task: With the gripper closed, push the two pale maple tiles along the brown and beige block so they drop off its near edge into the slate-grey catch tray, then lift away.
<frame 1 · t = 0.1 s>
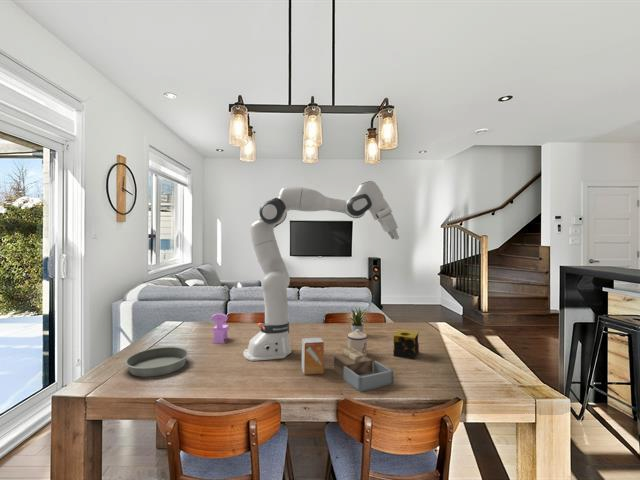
hand: (395, 238, 159), 54 cm above the table, tool tilted 30°, fingers open, 8 cm apart
rear tile: (350, 356, 142), point 5 cm above the table, touching brown and beige block
candle: (406, 355, 160), on the table
brown and beige block: (352, 371, 140), on the table
small box: (312, 371, 140), on the table
toy chair: (220, 341, 180), on the table
front tile: (356, 360, 138), point 5 cm above the table, touching brown and beige block
teacup with lid: (357, 353, 161), on the table
catch tray: (368, 381, 130), on the table
house plant: (359, 336, 189), on the table
cake pan: (158, 367, 145), on the table
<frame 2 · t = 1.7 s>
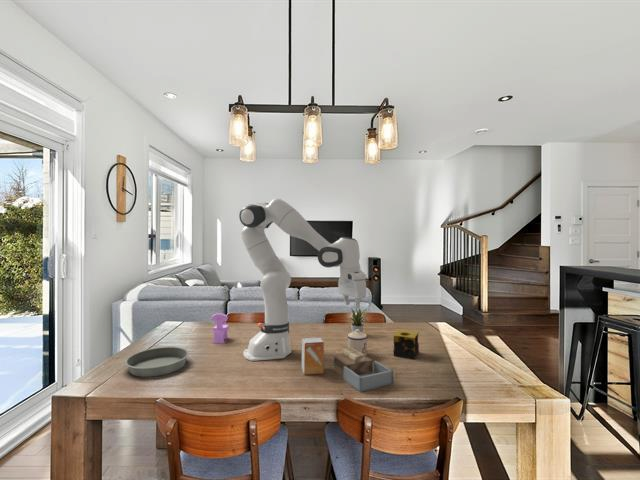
hand: (352, 306, 148), 25 cm above the table, tool pointing down, fingers open, 8 cm apart
nothing on the table moved.
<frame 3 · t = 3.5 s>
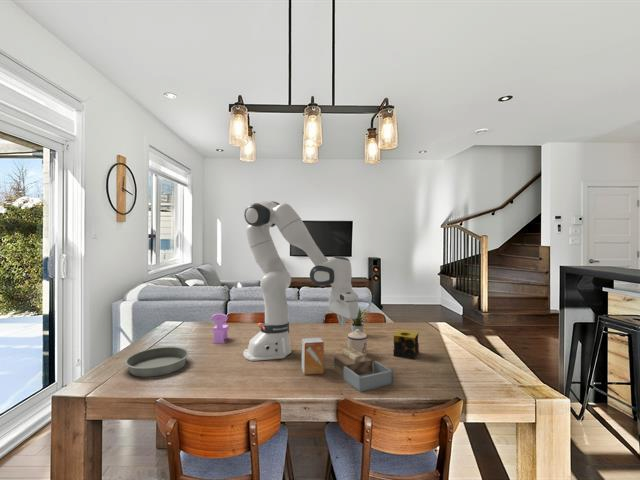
hand: (342, 325, 149), 17 cm above the table, tool pointing down, fingers closed
nothing on the table moved.
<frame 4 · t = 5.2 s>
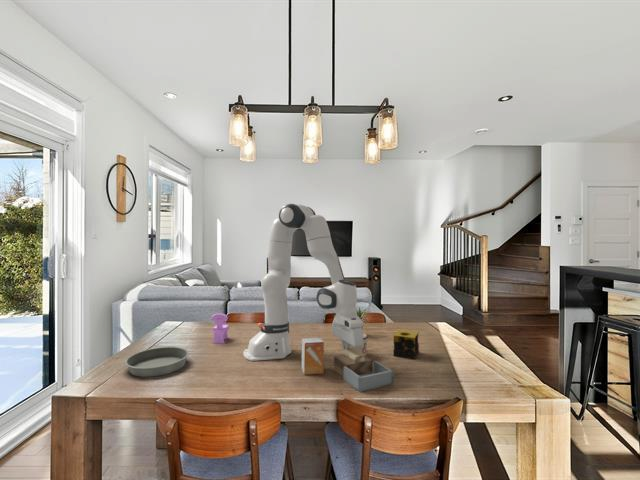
hand: (346, 350, 145), 7 cm above the table, tool pointing down, fingers closed
rear tile: (350, 356, 142), point 5 cm above the table, touching brown and beige block, gripper
everything else where it was.
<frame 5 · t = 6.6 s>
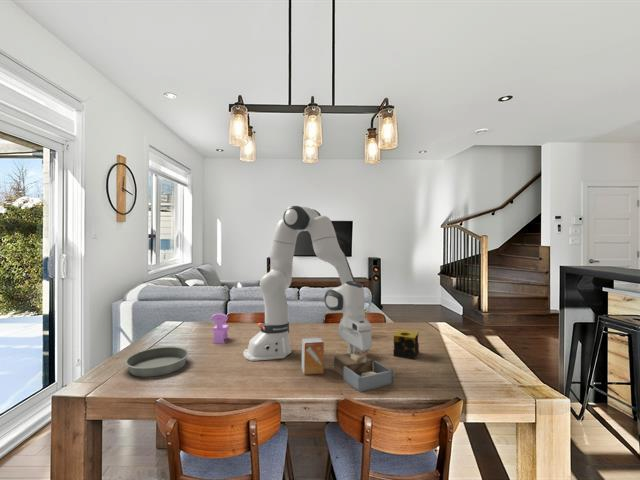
hand: (353, 355, 140), 7 cm above the table, tool pointing down, fingers closed
rear tile: (358, 361, 137), point 6 cm above the table, touching gripper
front tile: (369, 373, 130), point 3 cm above the table, tilted 171°, touching catch tray
everything else where it was.
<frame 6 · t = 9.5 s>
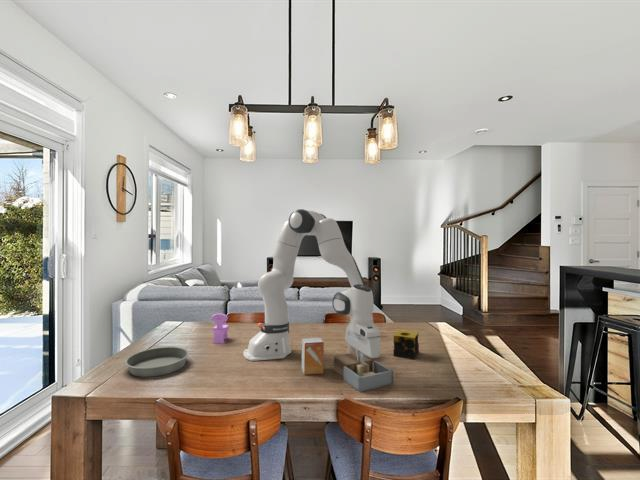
hand: (361, 361, 134), 6 cm above the table, tool pointing down, fingers closed
rear tile: (360, 369, 135), point 3 cm above the table, tilted 90°, touching catch tray
front tile: (370, 374, 129), point 3 cm above the table, tilted 180°, touching catch tray
everything else where it was.
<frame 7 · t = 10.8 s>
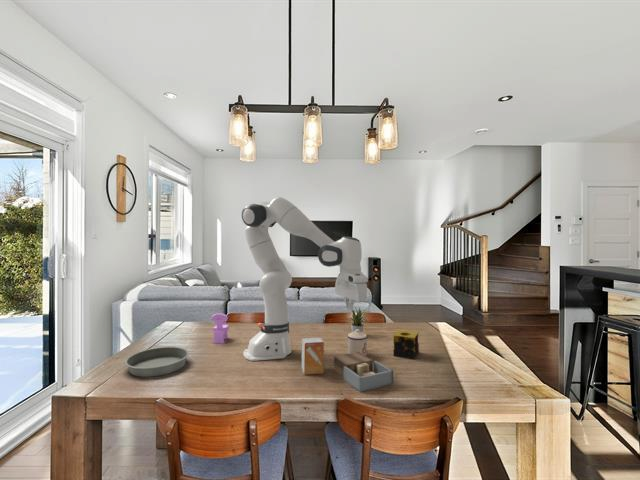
hand: (349, 308, 143), 25 cm above the table, tool pointing down, fingers closed
nothing on the table moved.
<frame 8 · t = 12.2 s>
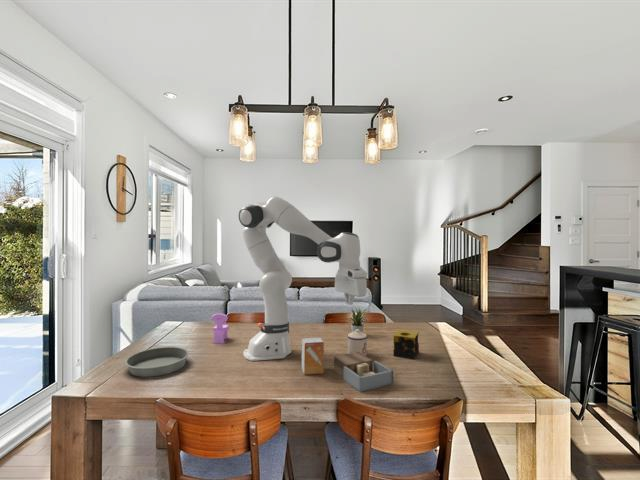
hand: (349, 304, 143), 27 cm above the table, tool pointing down, fingers closed
nothing on the table moved.
at the end: front tile inside the target area on the catch tray (1.7 cm from its centre), point 3.1 cm above the catch tray's base; rear tile inside the target area on the catch tray (4.9 cm from its centre), point 2.8 cm above the catch tray's base; rear tile moved 8.3 cm from its start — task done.
